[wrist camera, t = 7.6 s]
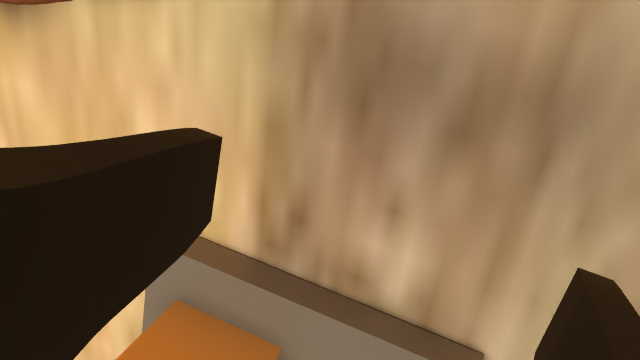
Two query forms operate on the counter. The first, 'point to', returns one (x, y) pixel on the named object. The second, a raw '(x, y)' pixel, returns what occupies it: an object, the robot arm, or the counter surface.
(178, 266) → the grey flat block
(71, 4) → the counter surface
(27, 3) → the brown curved arch
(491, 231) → the counter surface
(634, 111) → the counter surface
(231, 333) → the solid orange cube
